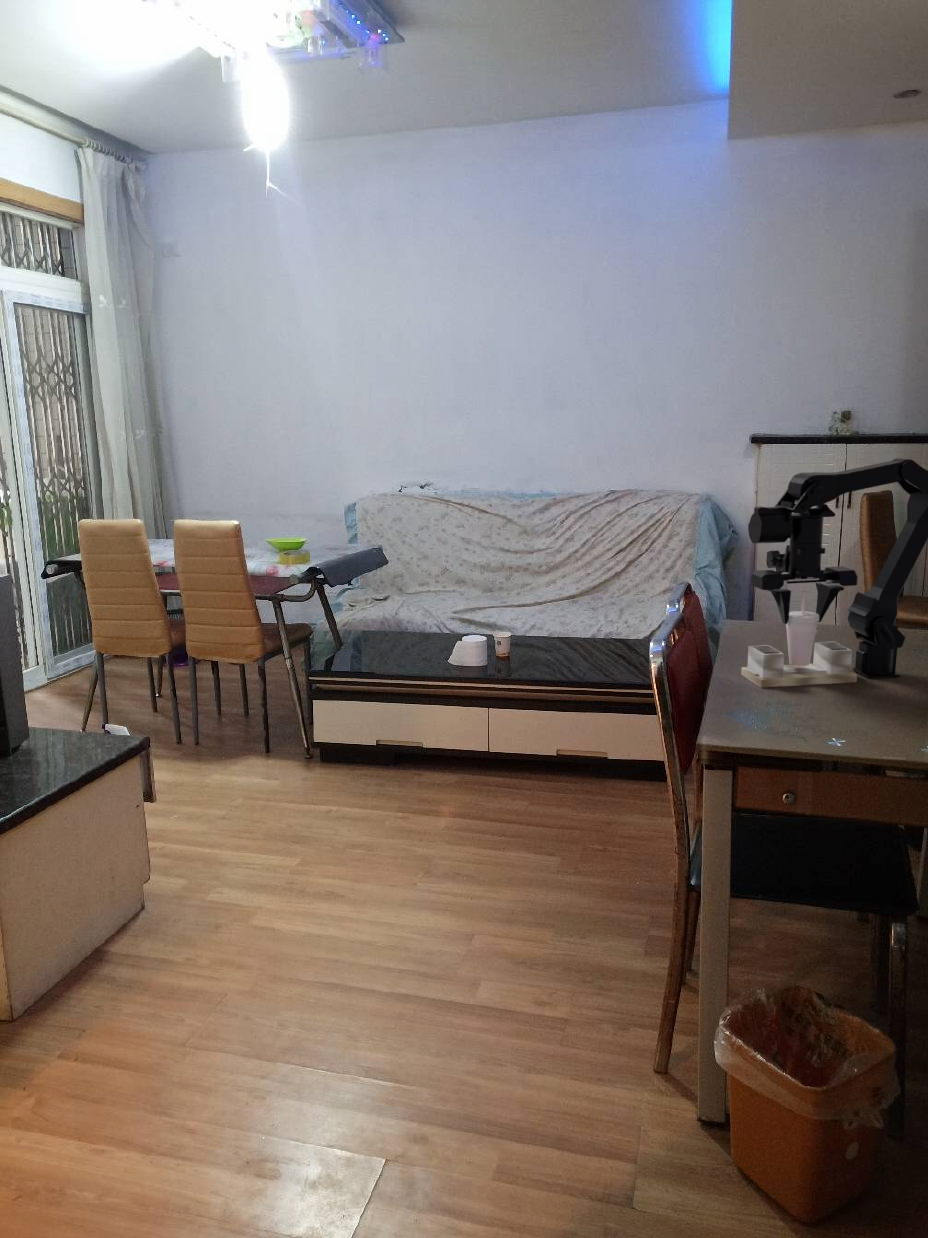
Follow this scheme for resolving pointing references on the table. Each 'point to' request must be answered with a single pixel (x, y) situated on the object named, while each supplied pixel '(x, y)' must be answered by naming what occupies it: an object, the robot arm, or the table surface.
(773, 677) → the board
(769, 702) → the table surface
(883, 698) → the table surface
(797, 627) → the smoothie
